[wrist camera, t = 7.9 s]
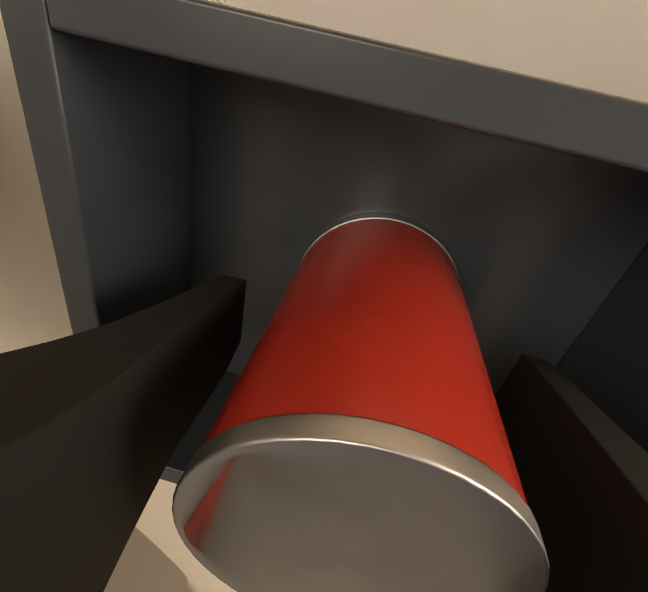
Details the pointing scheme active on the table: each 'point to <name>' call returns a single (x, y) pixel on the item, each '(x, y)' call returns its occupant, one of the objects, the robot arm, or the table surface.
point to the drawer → (332, 179)
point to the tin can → (363, 436)
